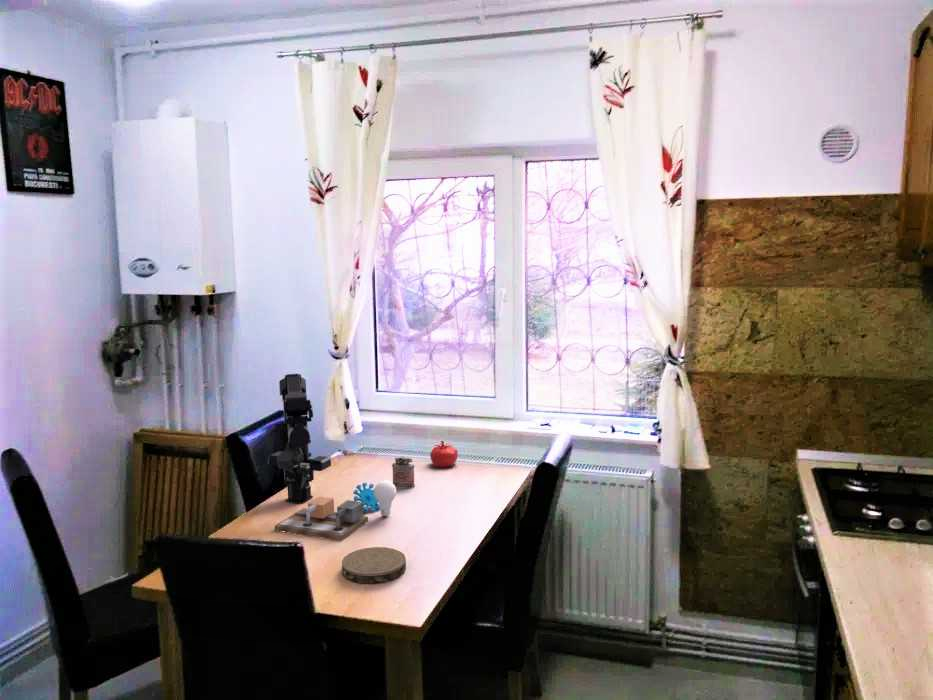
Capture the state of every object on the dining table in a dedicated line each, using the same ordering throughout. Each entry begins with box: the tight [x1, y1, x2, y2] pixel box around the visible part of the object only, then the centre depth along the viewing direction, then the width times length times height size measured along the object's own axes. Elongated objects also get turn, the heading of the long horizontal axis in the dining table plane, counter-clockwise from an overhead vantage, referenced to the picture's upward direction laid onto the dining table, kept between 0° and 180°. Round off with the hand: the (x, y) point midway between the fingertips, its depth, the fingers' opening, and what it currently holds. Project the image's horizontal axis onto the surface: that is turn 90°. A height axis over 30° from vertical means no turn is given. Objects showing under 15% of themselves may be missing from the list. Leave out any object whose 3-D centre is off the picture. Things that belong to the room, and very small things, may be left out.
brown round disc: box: [341, 546, 407, 586], centre depth 187 cm, size 16×16×3 cm
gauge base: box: [274, 499, 369, 542], centre depth 216 cm, size 22×15×7 cm
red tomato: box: [429, 440, 459, 468], centre depth 273 cm, size 10×10×9 cm
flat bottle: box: [391, 455, 416, 489], centre depth 250 cm, size 8×3×10 cm, turn 68°
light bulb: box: [373, 479, 397, 517], centre depth 223 cm, size 7×7×11 cm
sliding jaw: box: [306, 496, 335, 525], centre depth 217 cm, size 5×10×4 cm, turn 159°
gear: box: [352, 482, 381, 513], centre depth 231 cm, size 11×6×10 cm
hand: (300, 488), depth 223 cm, fingers closed
